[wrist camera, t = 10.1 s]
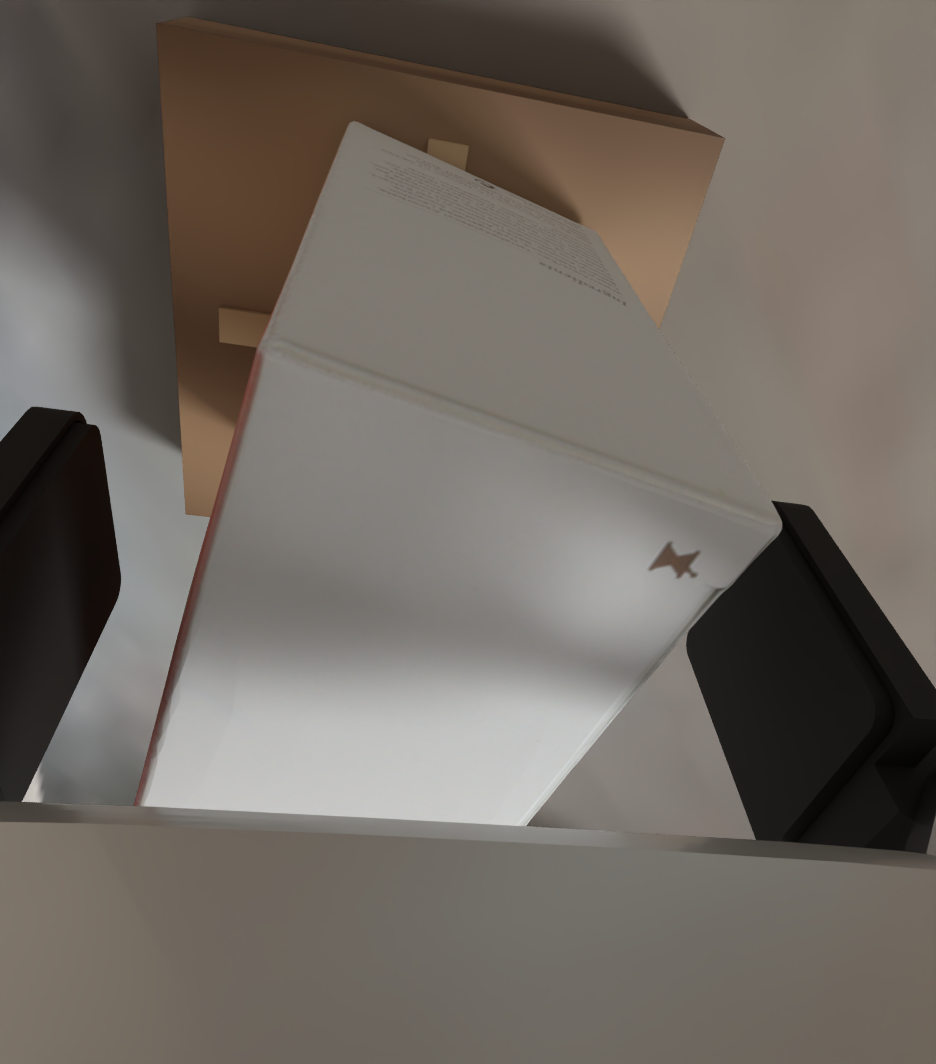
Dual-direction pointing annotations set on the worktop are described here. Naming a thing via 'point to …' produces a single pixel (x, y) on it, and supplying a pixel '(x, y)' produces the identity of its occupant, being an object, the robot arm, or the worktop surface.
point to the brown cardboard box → (307, 155)
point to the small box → (444, 514)
